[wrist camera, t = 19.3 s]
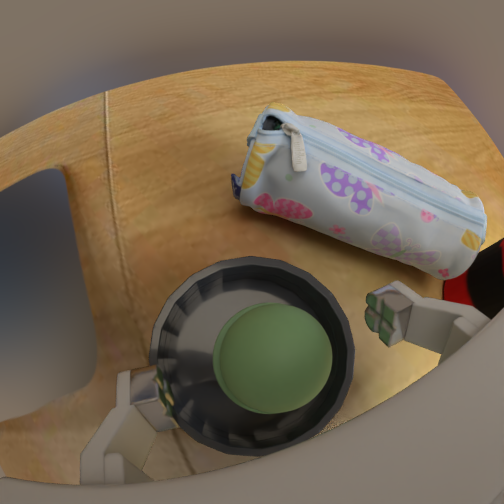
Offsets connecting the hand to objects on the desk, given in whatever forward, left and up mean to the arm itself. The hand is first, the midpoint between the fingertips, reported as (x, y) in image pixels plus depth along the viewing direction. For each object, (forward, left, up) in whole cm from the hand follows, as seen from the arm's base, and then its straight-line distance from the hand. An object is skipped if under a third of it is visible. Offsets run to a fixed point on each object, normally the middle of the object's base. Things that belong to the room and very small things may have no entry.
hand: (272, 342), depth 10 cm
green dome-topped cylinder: (0, -1, -11) cm, 11 cm away
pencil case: (+14, +5, -12) cm, 19 cm away
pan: (0, -1, -12) cm, 12 cm away
